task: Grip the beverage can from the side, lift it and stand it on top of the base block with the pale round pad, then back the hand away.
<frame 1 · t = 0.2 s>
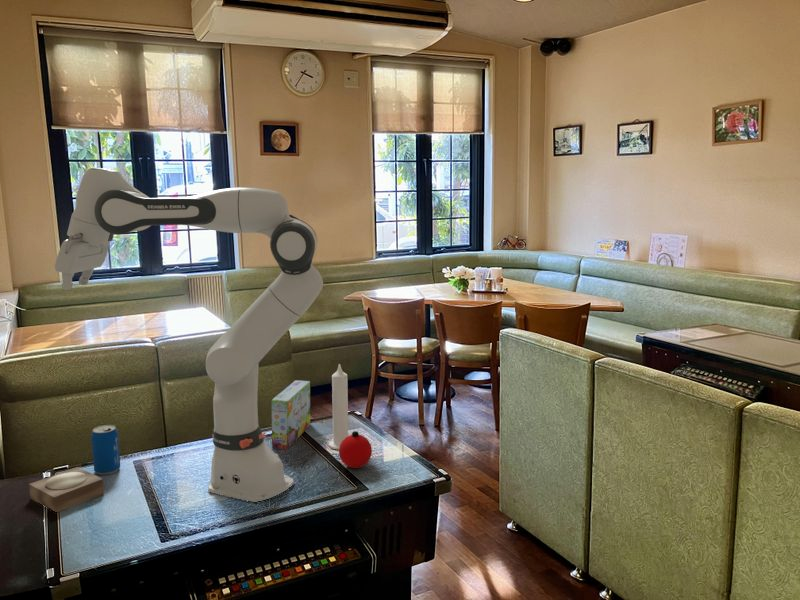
hand: (74, 286, 156), 52 cm above the table, tool tilted 20°, fingers open, 8 cm apart
ornament: (355, 467, 176), on the table
candle: (340, 446, 191), on the table
snack box: (292, 436, 198), on the table
beverage can: (107, 471, 173), on the table
base block: (67, 496, 158), on the table
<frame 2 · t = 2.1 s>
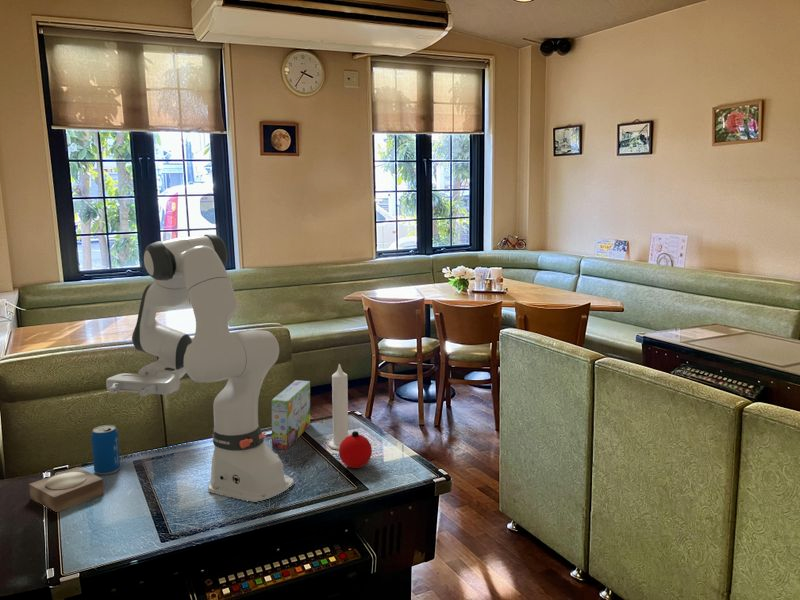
hand: (126, 392, 182), 18 cm above the table, tool horizontal, fingers open, 8 cm apart
nothing on the table moved.
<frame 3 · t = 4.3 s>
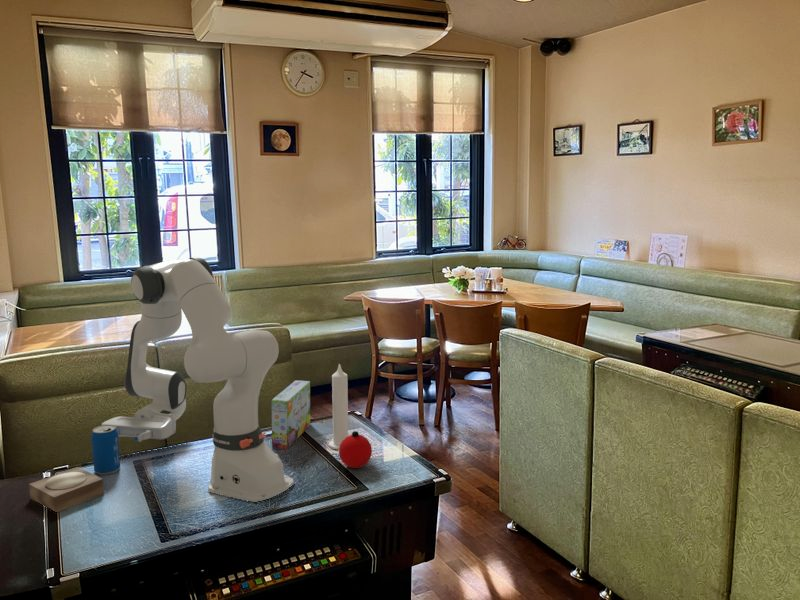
hand: (121, 438, 179), 6 cm above the table, tool horizontal, fingers open, 8 cm apart
nothing on the table moved.
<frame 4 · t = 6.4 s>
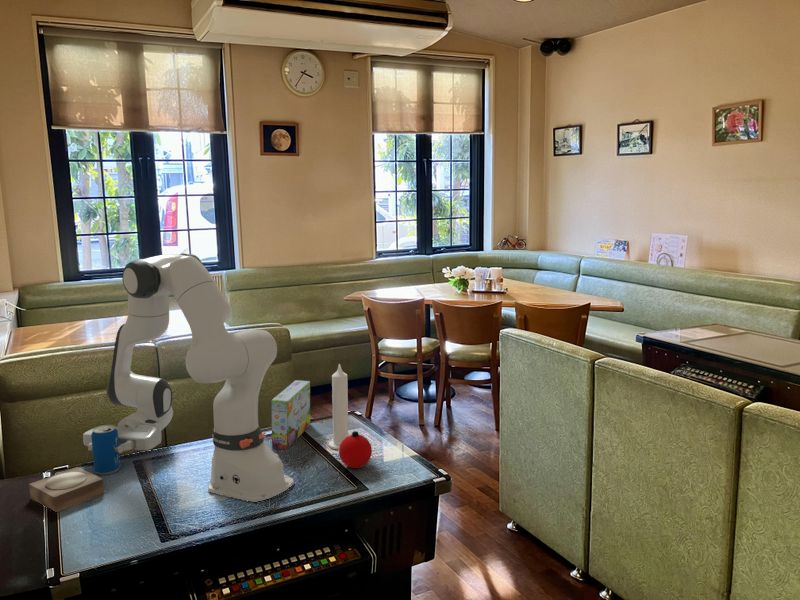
hand: (103, 449, 171), 7 cm above the table, tool horizontal, fingers closed on beverage can, 6 cm apart
beverage can: (107, 471, 173), on the table, touching gripper
everything else where it was.
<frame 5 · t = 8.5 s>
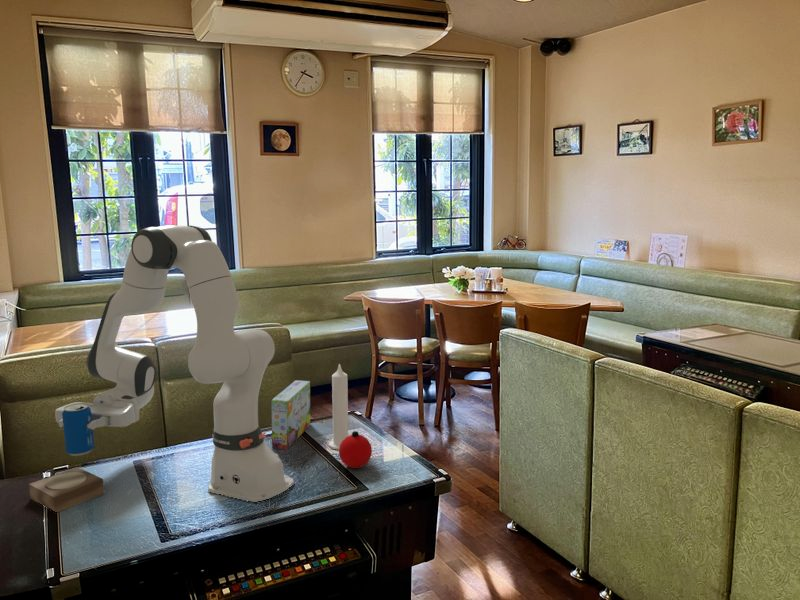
hand: (75, 425, 160), 17 cm above the table, tool horizontal, fingers closed on beverage can, 6 cm apart
beverage can: (80, 452, 162), point 9 cm above the table, touching gripper
everything else where it was.
when the fingers open (12 cm above the table, at t = 10.6 s): beverage can stays where it is, resting on base block.
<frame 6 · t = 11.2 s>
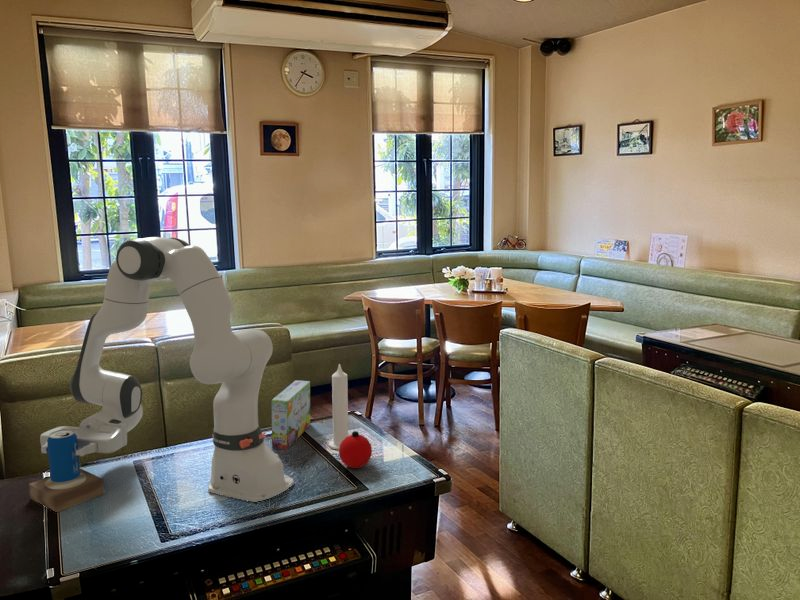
hand: (60, 451, 155), 12 cm above the table, tool horizontal, fingers open, 8 cm apart
beverage can: (65, 480, 158), point 4 cm above the table, touching base block
everything else where it was.
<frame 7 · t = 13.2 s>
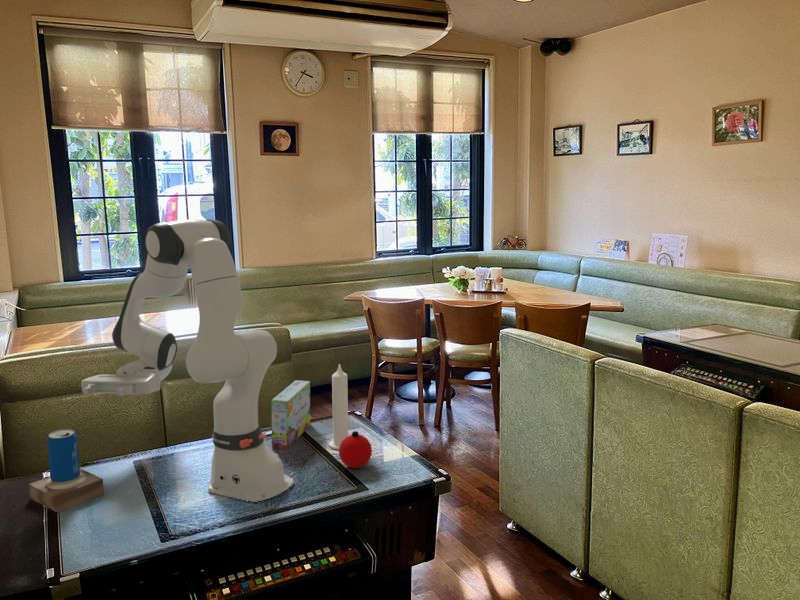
hand: (102, 392, 169), 22 cm above the table, tool horizontal, fingers open, 8 cm apart
nothing on the table moved.
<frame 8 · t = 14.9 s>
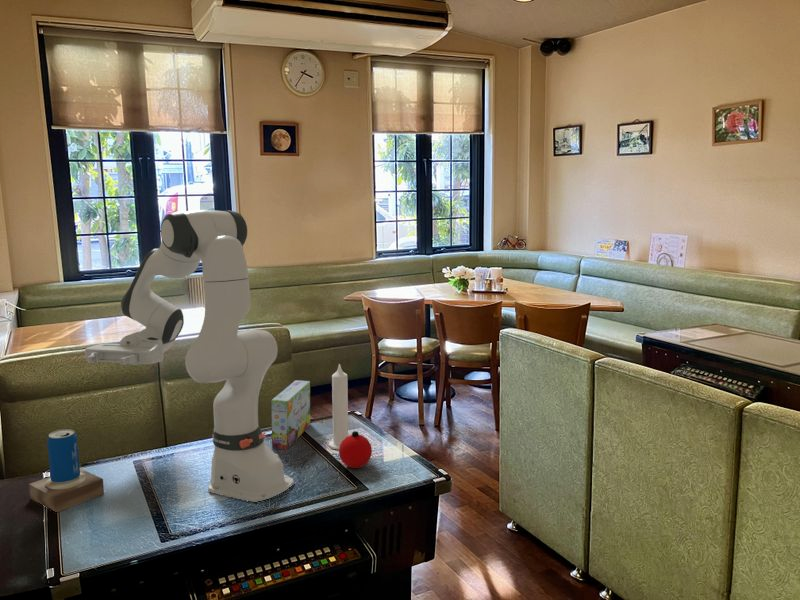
hand: (105, 361, 170), 30 cm above the table, tool horizontal, fingers open, 8 cm apart
nothing on the table moved.
at the end: beverage can inside the target area on the base block (0.2 cm from its centre), point 4.2 cm above the base block's base; beverage can tilted 0°; the gripper is holding nothing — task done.
